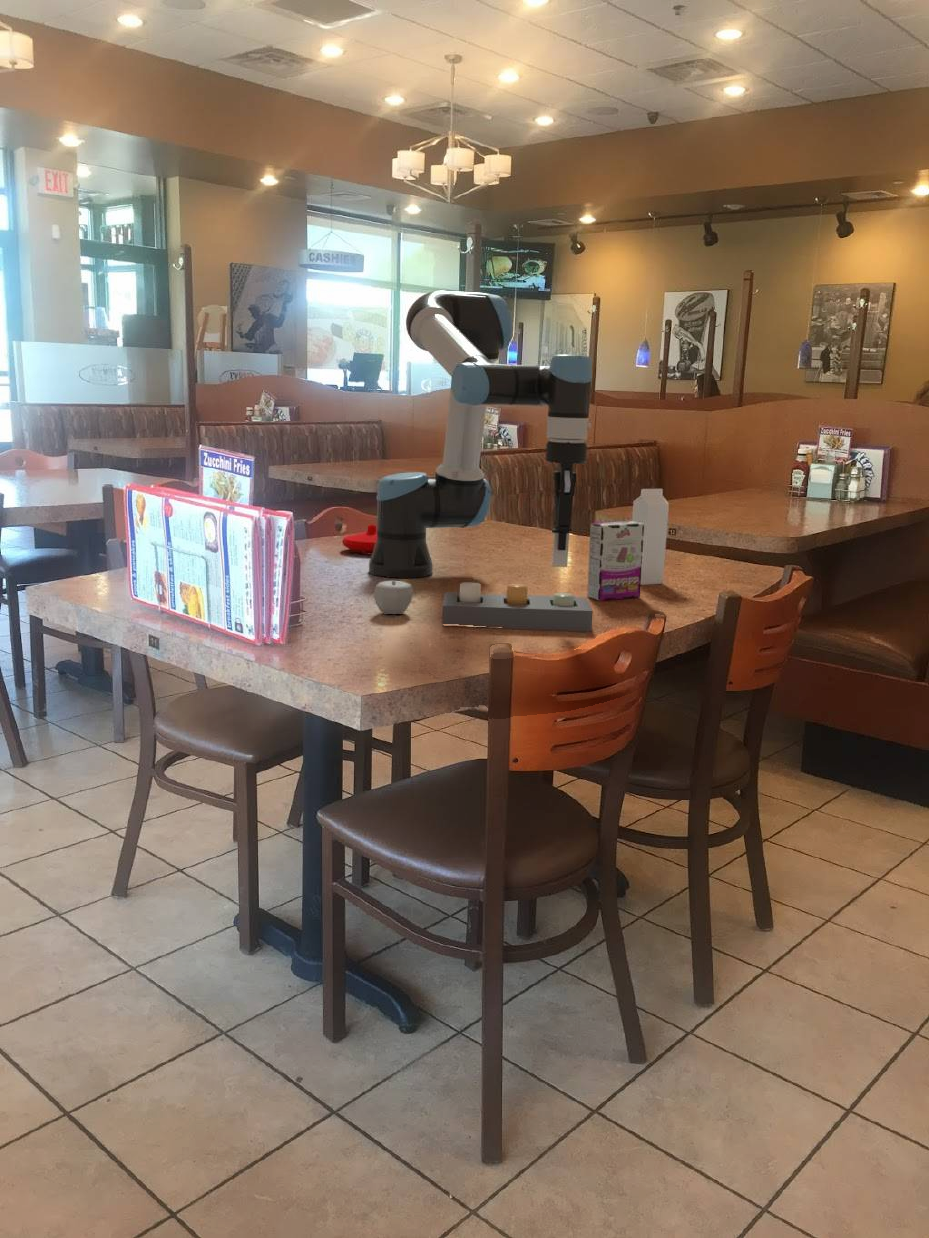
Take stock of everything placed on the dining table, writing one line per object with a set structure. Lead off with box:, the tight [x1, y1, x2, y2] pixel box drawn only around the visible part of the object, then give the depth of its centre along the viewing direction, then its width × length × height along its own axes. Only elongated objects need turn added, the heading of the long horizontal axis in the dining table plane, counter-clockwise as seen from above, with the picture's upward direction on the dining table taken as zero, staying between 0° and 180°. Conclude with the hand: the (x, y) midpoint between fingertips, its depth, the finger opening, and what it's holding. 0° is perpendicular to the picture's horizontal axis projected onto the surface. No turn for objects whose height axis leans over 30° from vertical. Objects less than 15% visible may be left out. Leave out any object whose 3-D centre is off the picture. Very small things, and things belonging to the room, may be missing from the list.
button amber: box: [506, 583, 529, 605], centre depth 192 cm, size 4×4×4 cm
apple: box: [373, 580, 414, 615], centre depth 196 cm, size 8×8×7 cm
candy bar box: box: [586, 520, 644, 602], centre depth 216 cm, size 11×5×16 cm, turn 117°
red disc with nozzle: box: [341, 524, 377, 554], centre depth 265 cm, size 16×16×7 cm
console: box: [441, 592, 594, 633], centre depth 193 cm, size 28×12×4 cm, turn 89°
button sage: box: [552, 592, 575, 606], centre depth 192 cm, size 4×4×4 cm
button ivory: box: [459, 581, 482, 603], centre depth 192 cm, size 4×4×4 cm
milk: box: [631, 488, 670, 586], centre depth 234 cm, size 6×6×22 cm
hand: (559, 566), depth 191 cm, fingers closed
